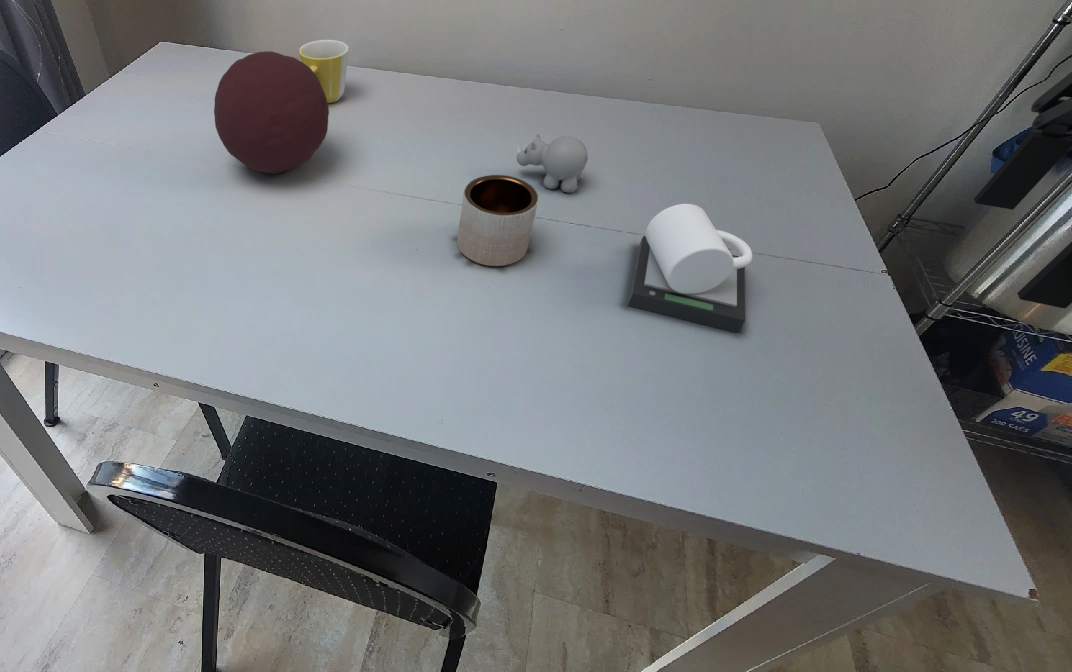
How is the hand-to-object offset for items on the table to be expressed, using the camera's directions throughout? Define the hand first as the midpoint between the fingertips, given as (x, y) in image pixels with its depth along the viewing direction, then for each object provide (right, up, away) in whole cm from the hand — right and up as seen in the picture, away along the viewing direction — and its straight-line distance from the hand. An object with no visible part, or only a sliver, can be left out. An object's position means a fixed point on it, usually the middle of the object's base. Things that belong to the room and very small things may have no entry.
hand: (1014, 248), depth 49 cm
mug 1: (-61, +44, +81) cm, 111 cm away
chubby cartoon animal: (-20, +20, +57) cm, 64 cm away
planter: (-33, +7, +45) cm, 56 cm away
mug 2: (-7, +2, +35) cm, 36 cm away
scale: (-7, 0, +37) cm, 37 cm away
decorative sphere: (-68, +25, +63) cm, 96 cm away
